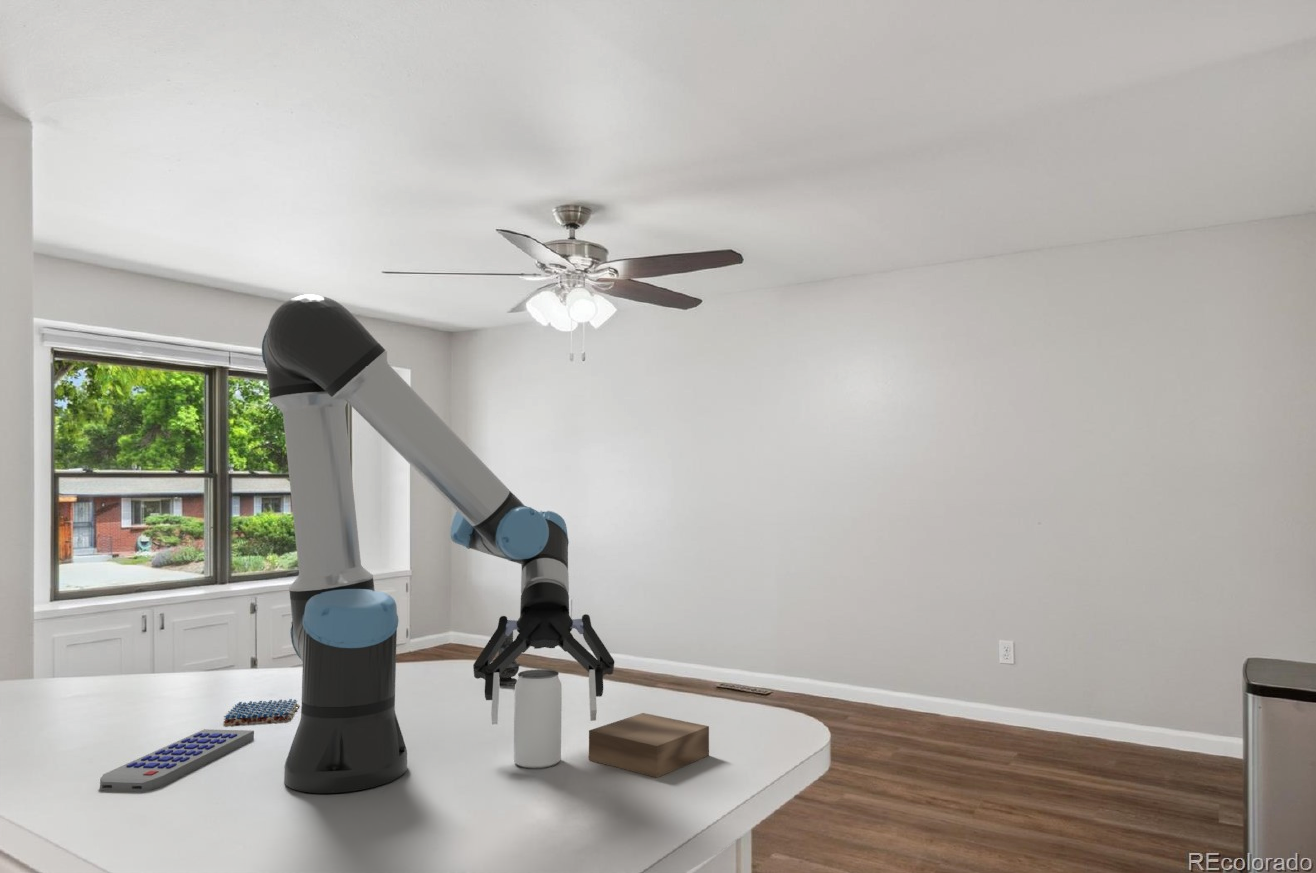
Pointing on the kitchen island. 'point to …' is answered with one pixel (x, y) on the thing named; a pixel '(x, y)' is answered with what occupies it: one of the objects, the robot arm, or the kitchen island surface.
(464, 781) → the kitchen island surface
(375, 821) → the kitchen island surface
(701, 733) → the walnut stand
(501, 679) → the salt shaker
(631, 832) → the kitchen island surface
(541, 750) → the can
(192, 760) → the remote control
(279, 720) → the woven mat
